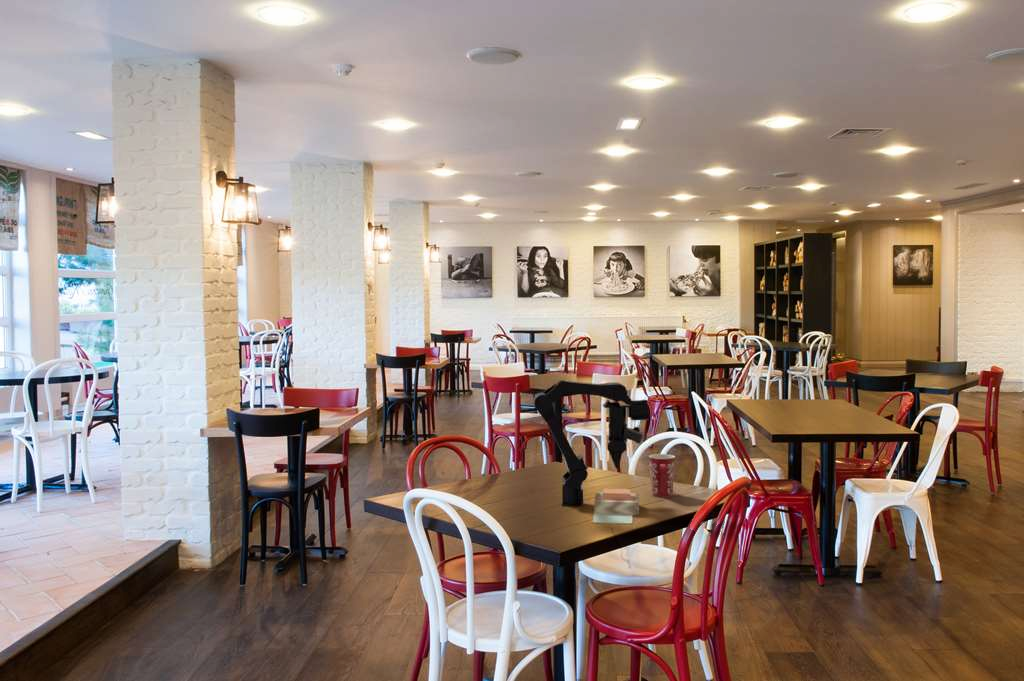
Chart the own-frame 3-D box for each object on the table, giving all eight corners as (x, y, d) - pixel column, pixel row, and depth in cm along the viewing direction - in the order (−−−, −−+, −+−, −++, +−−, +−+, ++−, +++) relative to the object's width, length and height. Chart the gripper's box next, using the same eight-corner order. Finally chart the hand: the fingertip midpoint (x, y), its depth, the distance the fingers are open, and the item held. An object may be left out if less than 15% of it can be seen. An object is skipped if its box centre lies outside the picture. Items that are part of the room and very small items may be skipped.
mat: (592, 523, 256) (592, 522, 256) (594, 513, 267) (594, 512, 267) (632, 524, 255) (632, 523, 255) (632, 514, 265) (632, 513, 265)
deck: (594, 513, 267) (594, 501, 267) (596, 504, 279) (596, 492, 279) (638, 514, 265) (638, 502, 265) (638, 505, 277) (638, 493, 277)
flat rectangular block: (602, 499, 270) (602, 493, 269) (603, 494, 275) (603, 488, 275) (630, 499, 268) (630, 493, 268) (631, 495, 274) (631, 489, 274)
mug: (648, 491, 297) (648, 453, 296) (674, 491, 295) (674, 453, 294) (648, 500, 284) (648, 460, 283) (676, 500, 283) (676, 461, 282)
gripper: (642, 425, 269) (642, 473, 270) (641, 416, 287) (641, 462, 288) (607, 424, 271) (607, 472, 271) (608, 416, 289) (609, 461, 290)
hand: (617, 467), depth 280 cm, fingers open, 4 cm apart
